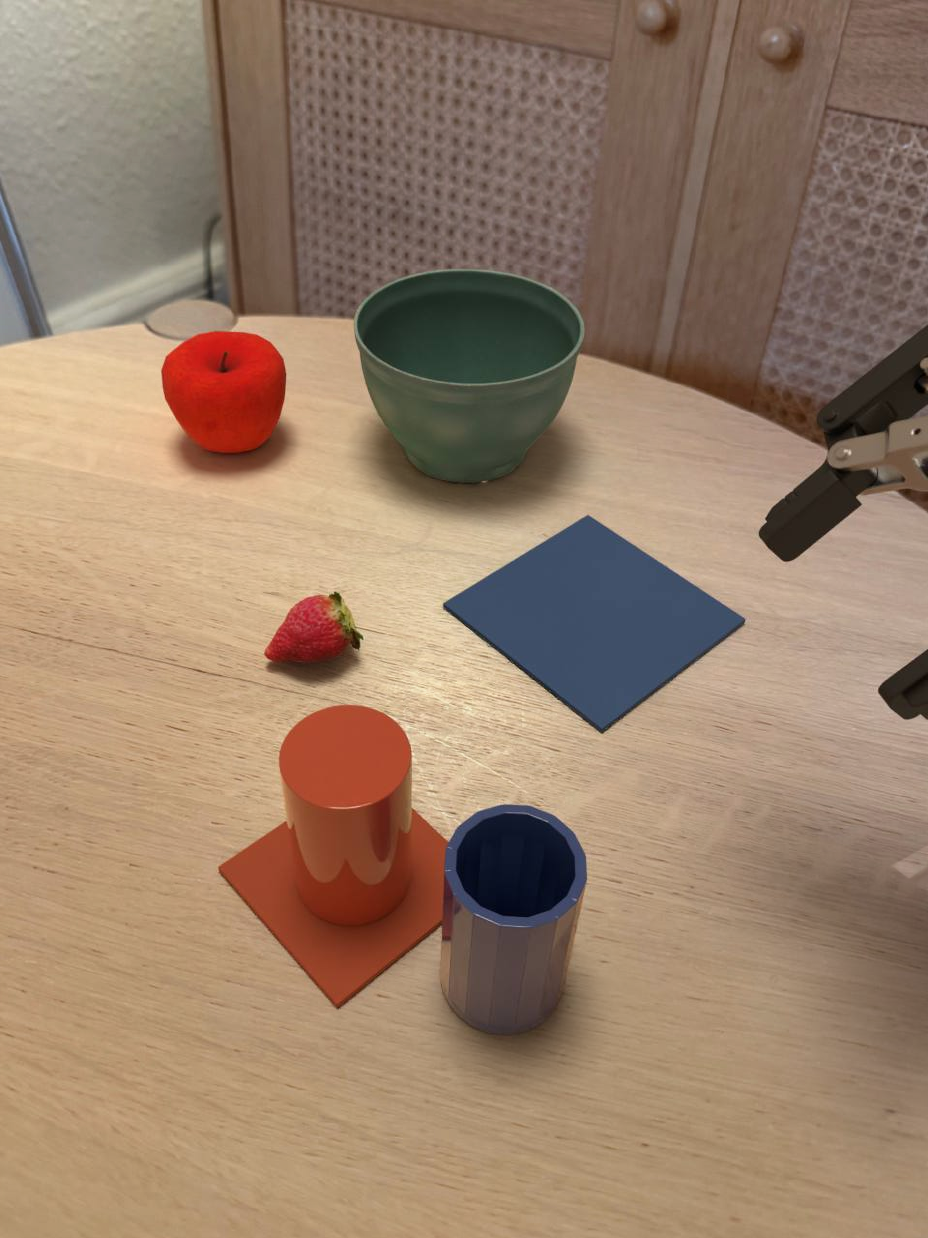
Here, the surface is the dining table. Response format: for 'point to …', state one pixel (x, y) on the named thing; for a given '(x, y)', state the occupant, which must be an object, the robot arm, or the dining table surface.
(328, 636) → the fruit
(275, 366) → the apple
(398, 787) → the tall red cylinder
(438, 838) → the red mat
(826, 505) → the robot arm
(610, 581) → the blue mat
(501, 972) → the blue cup
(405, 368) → the flower pot
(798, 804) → the dining table surface
